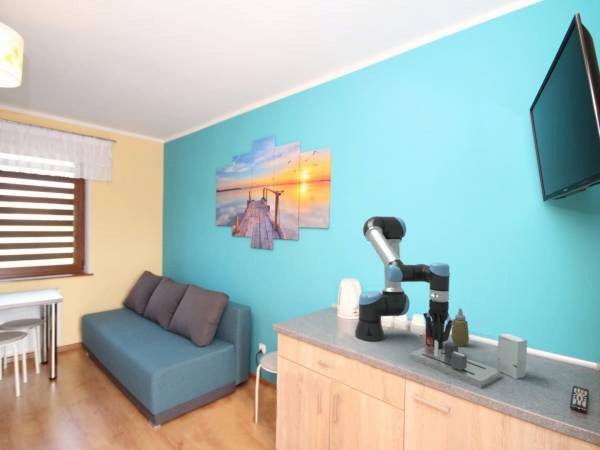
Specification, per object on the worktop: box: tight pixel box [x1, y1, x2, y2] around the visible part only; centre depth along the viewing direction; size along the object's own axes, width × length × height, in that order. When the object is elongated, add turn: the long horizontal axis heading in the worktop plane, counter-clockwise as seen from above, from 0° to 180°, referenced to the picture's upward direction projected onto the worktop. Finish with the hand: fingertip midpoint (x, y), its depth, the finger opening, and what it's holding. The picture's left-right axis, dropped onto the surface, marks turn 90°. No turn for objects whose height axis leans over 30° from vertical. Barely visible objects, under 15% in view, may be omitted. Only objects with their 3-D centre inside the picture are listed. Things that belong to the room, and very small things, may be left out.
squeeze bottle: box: [450, 307, 470, 347], centre depth 154 cm, size 8×8×18 cm
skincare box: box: [495, 333, 528, 380], centre depth 123 cm, size 8×6×15 cm
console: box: [409, 341, 502, 389], centre depth 128 cm, size 30×16×8 cm, turn 35°
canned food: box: [425, 323, 433, 347], centre depth 151 cm, size 8×8×11 cm
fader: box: [451, 351, 468, 370], centre depth 121 cm, size 4×4×5 cm
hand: (437, 355), depth 128 cm, fingers closed
